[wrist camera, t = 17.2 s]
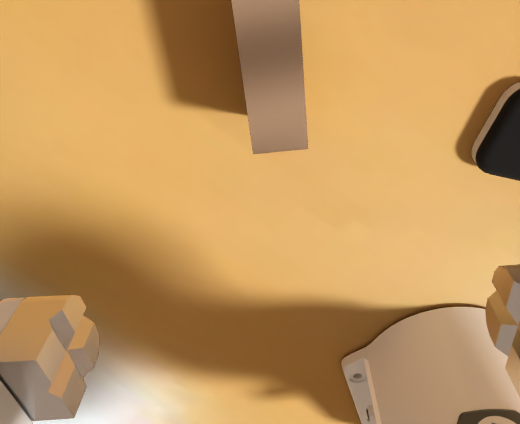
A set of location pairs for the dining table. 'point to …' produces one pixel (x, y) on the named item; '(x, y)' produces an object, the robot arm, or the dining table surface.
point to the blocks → (272, 73)
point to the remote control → (501, 137)
